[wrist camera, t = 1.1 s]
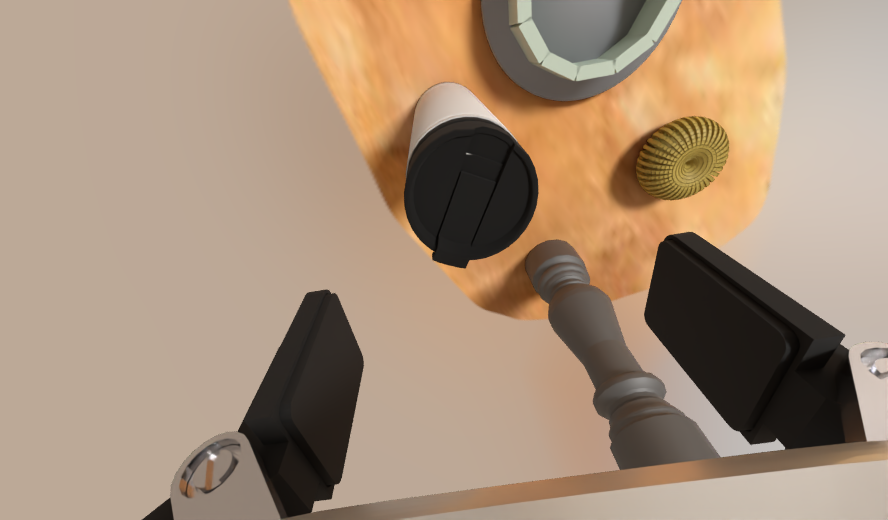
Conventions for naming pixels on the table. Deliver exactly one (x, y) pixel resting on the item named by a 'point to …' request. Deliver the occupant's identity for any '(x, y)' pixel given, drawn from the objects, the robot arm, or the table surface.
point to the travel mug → (465, 178)
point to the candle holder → (612, 365)
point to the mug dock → (574, 42)
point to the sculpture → (682, 158)
